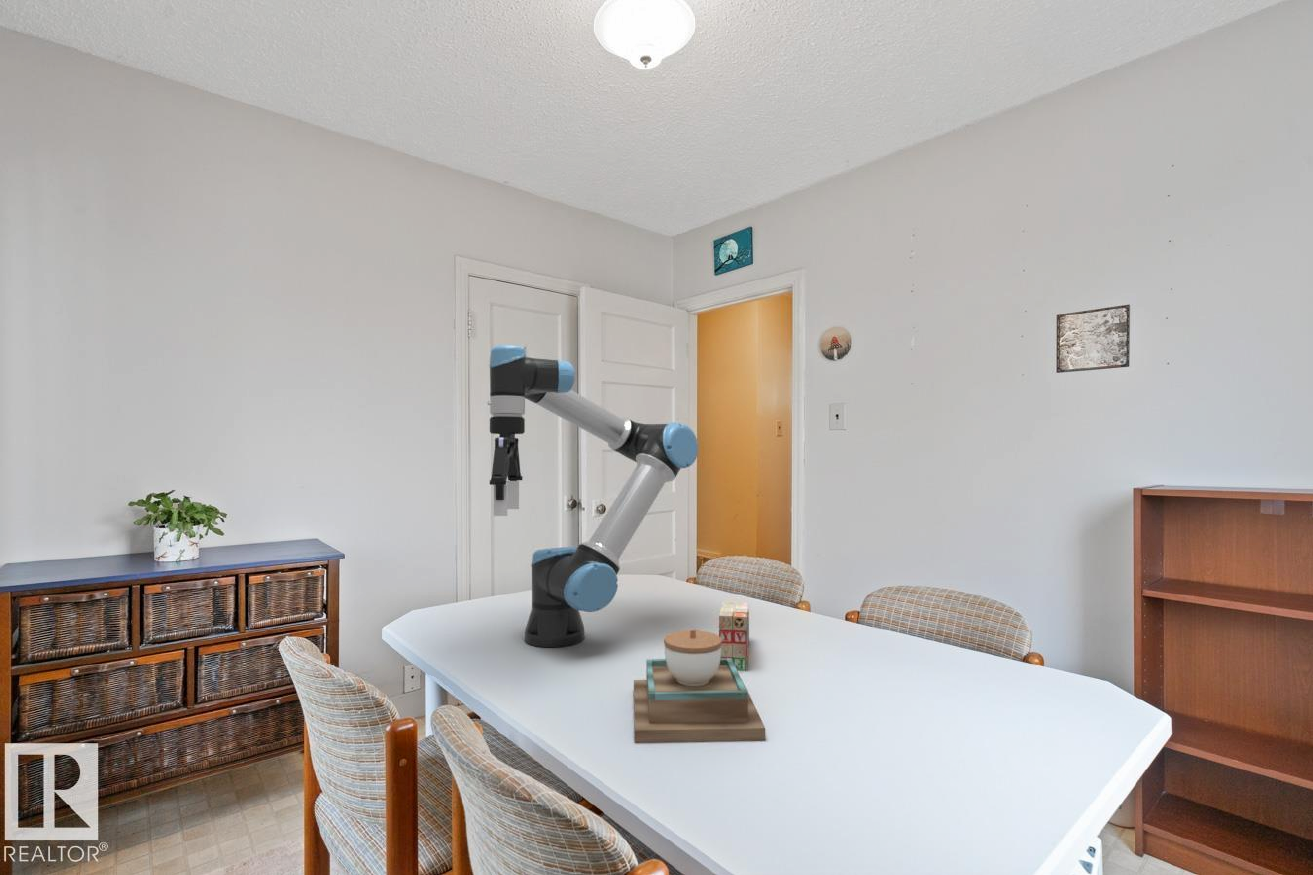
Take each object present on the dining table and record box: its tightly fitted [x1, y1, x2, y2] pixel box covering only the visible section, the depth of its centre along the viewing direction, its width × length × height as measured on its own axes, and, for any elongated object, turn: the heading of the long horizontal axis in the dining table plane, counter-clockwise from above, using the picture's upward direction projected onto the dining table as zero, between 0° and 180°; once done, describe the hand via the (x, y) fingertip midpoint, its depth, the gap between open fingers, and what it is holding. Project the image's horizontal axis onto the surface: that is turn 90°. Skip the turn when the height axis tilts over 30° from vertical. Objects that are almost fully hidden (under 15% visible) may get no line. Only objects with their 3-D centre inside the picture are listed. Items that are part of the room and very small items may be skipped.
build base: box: [633, 658, 766, 744], centre depth 114 cm, size 22×22×7 cm
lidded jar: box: [663, 628, 722, 686], centre depth 114 cm, size 11×11×9 cm
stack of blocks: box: [718, 600, 750, 672], centre depth 146 cm, size 21×6×12 cm, turn 170°
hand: (506, 512), depth 136 cm, fingers open, 13 cm apart
